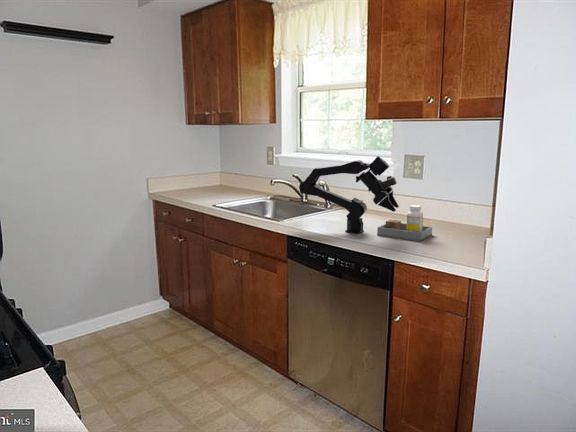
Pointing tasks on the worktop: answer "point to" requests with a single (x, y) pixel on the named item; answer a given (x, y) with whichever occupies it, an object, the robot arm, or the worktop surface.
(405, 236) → the box
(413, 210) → the supplement bottle
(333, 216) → the worktop surface
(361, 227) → the robot arm
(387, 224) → the walnut cube
